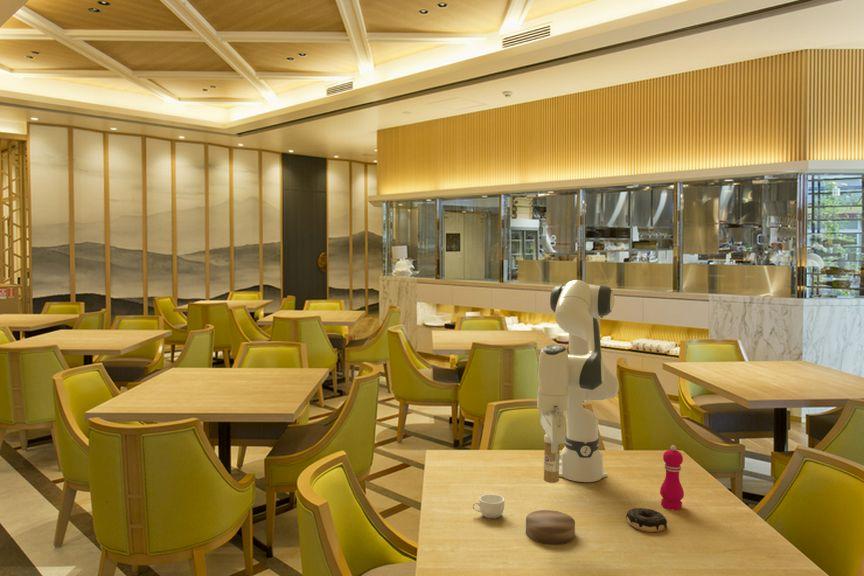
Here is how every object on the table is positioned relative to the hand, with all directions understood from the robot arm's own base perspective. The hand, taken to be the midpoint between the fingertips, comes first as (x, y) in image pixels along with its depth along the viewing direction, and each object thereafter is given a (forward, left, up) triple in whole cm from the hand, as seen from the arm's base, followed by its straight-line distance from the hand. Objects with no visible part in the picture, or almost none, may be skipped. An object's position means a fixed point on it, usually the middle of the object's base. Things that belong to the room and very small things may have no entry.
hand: (551, 449), depth 182 cm
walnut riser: (0, 0, -25) cm, 25 cm away
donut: (-7, +30, -25) cm, 40 cm away
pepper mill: (-21, +43, -25) cm, 54 cm away
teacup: (-12, -17, -25) cm, 33 cm away
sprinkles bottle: (0, 0, -9) cm, 9 cm away
